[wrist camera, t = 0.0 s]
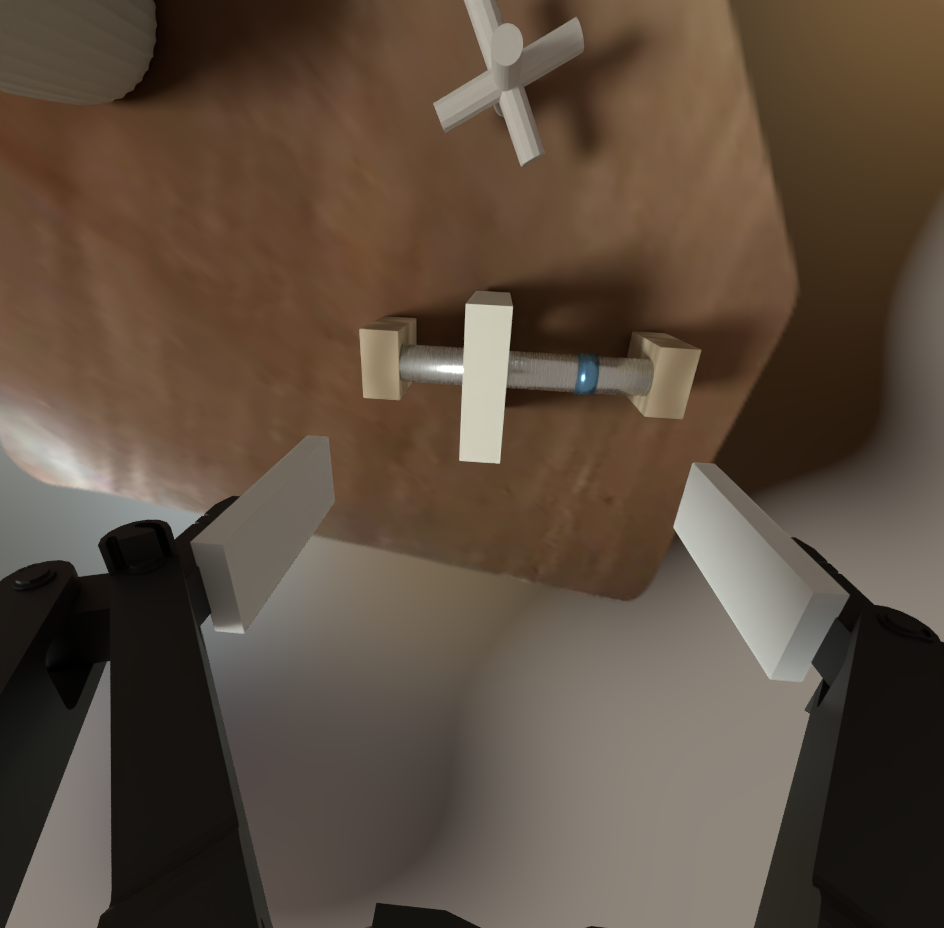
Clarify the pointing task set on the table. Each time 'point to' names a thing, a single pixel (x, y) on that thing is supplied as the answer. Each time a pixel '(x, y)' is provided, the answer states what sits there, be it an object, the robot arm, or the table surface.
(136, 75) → the canister
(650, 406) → the rod support stand
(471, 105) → the pipe connector
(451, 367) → the steel rod
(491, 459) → the collar
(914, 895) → the robot arm
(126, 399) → the table surface
